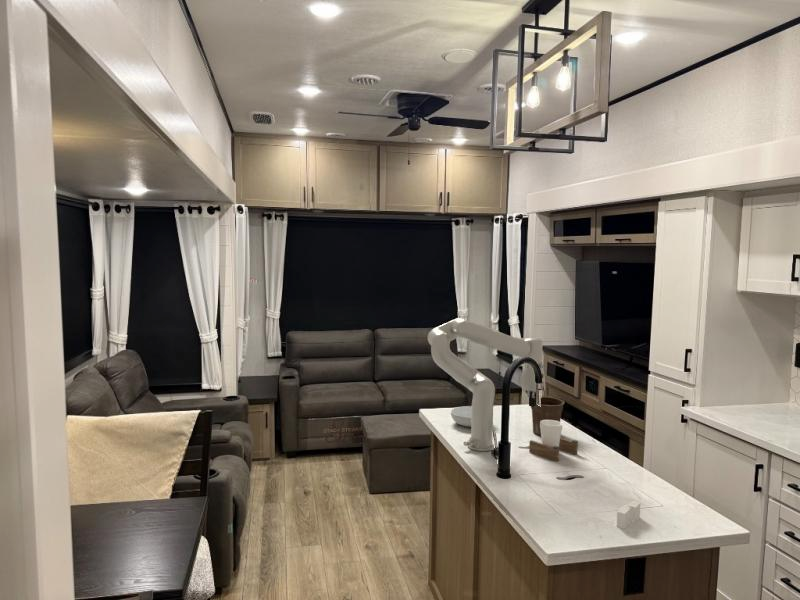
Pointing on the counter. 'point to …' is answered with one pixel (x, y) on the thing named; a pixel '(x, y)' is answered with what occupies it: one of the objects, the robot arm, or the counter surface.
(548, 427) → the foam cup
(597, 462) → the counter surface
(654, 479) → the counter surface
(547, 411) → the plant pot
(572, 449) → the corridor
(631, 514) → the napkin holder
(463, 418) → the serving bowl
